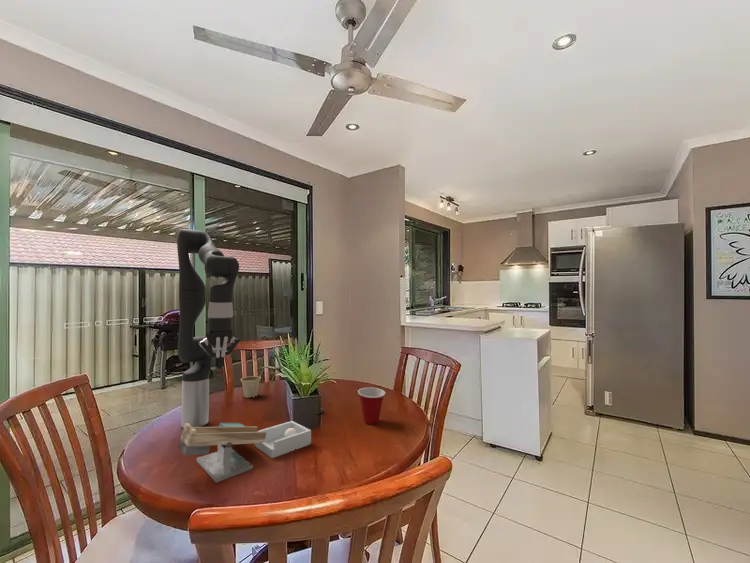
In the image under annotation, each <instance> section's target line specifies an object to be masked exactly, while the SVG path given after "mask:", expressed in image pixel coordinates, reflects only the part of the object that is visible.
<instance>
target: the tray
mask: <svg viewBox="0 0 750 563" xmlns="http://www.w3.org/2000/svg"><path fill="white" fill-rule="evenodd" d="M289 428H294V429H295V430H296V432H297V434H294V435H291V436H288V437H285V432H286V430H287V429H289ZM257 432H267V433H266V437H265V441H264V443H253V444H254V447H255V448H257V449H258V450H260V451H261V452H262V453H263V454H265V455H266V456H268V457H269V458H271V459H274V458H277V457H280V456H283V455H285V454H288V453H290V451H291V452H293V451H296V450H298V449H301V448H304V447H308V446H310V445H311V444H312V430H311V429H310V428H308V427H305V426H304V425H301V424H299V423H297V422H296V421H293V420H290V421H287V422H283V423H280V424H276V425H273V426H270V427H266V428H263V429H260V430H257ZM295 449H296V450H295Z"/></svg>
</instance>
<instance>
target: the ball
mask: <svg viewBox="0 0 750 563" xmlns="http://www.w3.org/2000/svg"><path fill="white" fill-rule="evenodd" d="M294 434H297V432H296V430H295V429H294V428H289V429H287V430H286V432H285V437H288V436H291V435H294Z"/></svg>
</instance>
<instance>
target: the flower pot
mask: <svg viewBox="0 0 750 563" xmlns="http://www.w3.org/2000/svg"><path fill="white" fill-rule="evenodd" d="M261 379H262V377H261V376H257V375H256V376H255V375H253V376H252V375H250V376H245V377H242V378H240V381H241V384H242V392H243V397H244V398H245V397H246V398H247V399H249V398H251V397H253V398H256V397H257V396H258V395H259V393H258V392H259V386H260V381H261ZM255 396H256V397H255Z"/></svg>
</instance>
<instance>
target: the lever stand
mask: <svg viewBox="0 0 750 563" xmlns="http://www.w3.org/2000/svg"><path fill="white" fill-rule="evenodd" d="M196 463H197V464H198V465H199V466H200V467H201V468H202V469H203V470H204V472H206V473H207V474H208V476H209V477H210V478H211V479H212V480H213V481H214V483H215V484H216V483H219V482H221V481H225V480H226V479H230V478H232V477H235V476H238V475H240V474H243V473H247V472H248V471H251V470H253V464H252V463H250V462H249V461H248V460H246V459H245V458H244V457H243V456H242V455H241V454H239V453H238V451H236V450H234V449H233V448H232V446H231V447H230V448H228V447H227V446H226V445H217V451H214V452H211V453H208V454H204V455H201V456H198V457H196Z"/></svg>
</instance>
